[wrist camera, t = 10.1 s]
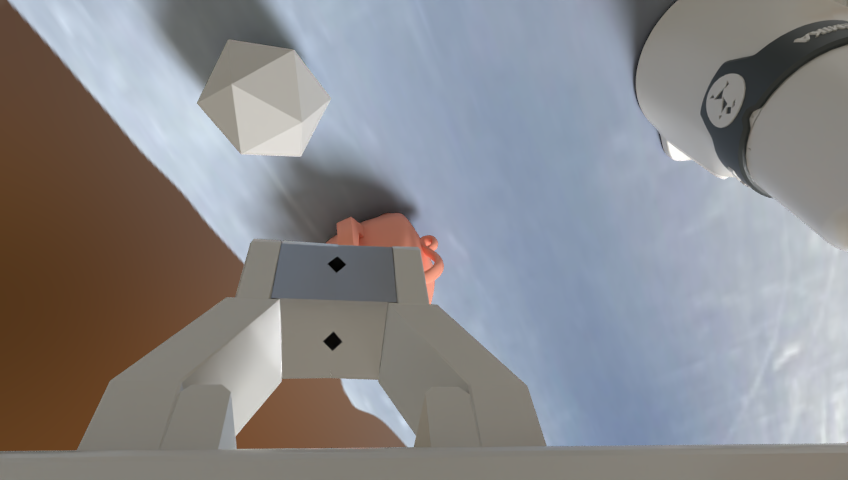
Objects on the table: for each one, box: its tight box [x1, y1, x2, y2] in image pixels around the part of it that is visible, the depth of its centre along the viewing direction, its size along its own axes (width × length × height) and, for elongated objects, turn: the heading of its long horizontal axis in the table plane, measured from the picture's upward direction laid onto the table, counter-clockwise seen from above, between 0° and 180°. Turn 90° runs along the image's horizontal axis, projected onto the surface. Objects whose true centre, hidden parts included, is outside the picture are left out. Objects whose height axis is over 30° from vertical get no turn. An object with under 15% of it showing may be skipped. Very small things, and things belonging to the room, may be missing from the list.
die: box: [197, 39, 331, 157], centre depth 42 cm, size 8×9×10 cm
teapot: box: [326, 213, 444, 304], centre depth 52 cm, size 12×12×10 cm
